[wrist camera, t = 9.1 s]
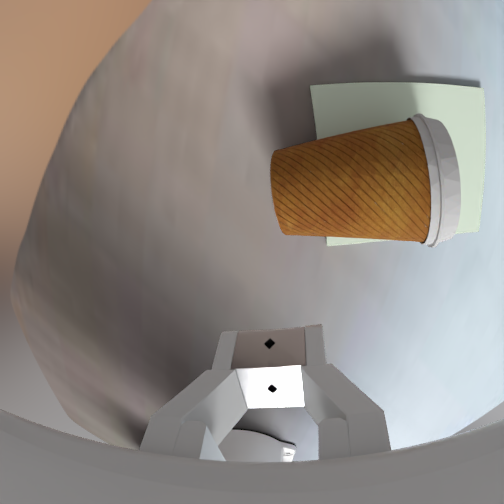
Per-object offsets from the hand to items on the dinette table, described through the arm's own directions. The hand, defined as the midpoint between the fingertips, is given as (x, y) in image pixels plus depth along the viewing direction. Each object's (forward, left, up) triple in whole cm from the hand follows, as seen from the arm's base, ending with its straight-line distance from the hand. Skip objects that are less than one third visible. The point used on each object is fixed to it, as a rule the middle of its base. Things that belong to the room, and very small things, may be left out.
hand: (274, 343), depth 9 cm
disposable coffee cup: (0, 0, -16) cm, 16 cm away
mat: (0, -11, -19) cm, 22 cm away
